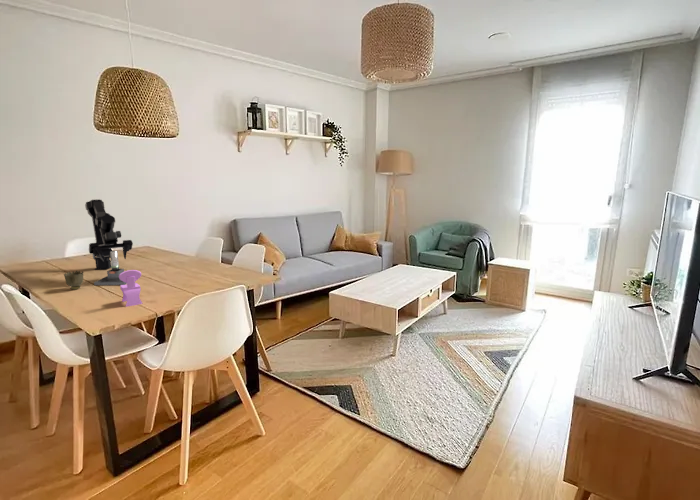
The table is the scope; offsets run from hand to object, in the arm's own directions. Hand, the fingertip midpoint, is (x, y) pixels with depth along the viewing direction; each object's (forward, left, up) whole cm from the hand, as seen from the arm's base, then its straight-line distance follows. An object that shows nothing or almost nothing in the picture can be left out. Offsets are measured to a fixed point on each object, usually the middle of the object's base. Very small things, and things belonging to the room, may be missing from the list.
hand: (114, 259), depth 186 cm
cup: (-13, -12, -12) cm, 21 cm away
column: (-1, +1, -8) cm, 8 cm away
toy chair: (+22, -32, -12) cm, 41 cm away
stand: (-1, +1, -11) cm, 12 cm away
